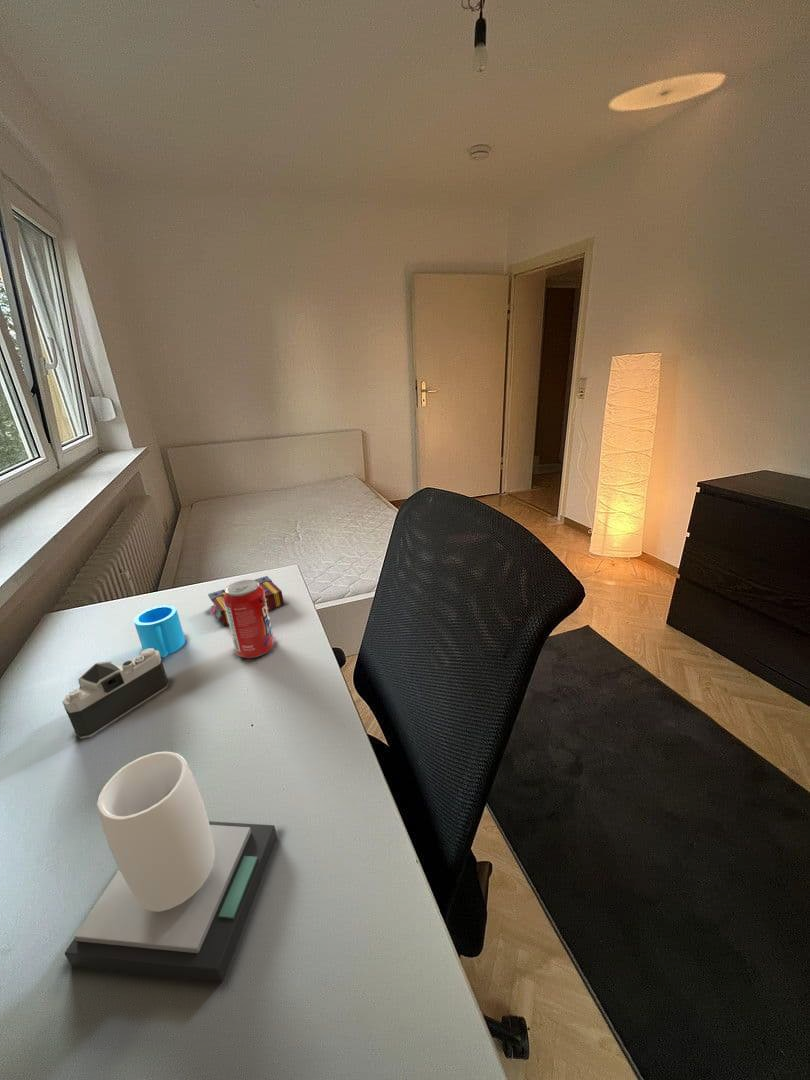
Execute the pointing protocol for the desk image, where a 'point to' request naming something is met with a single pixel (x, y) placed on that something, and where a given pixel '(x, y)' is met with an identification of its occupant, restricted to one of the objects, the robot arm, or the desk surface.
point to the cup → (157, 829)
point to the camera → (114, 691)
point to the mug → (160, 629)
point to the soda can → (248, 618)
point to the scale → (180, 915)
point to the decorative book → (271, 595)
